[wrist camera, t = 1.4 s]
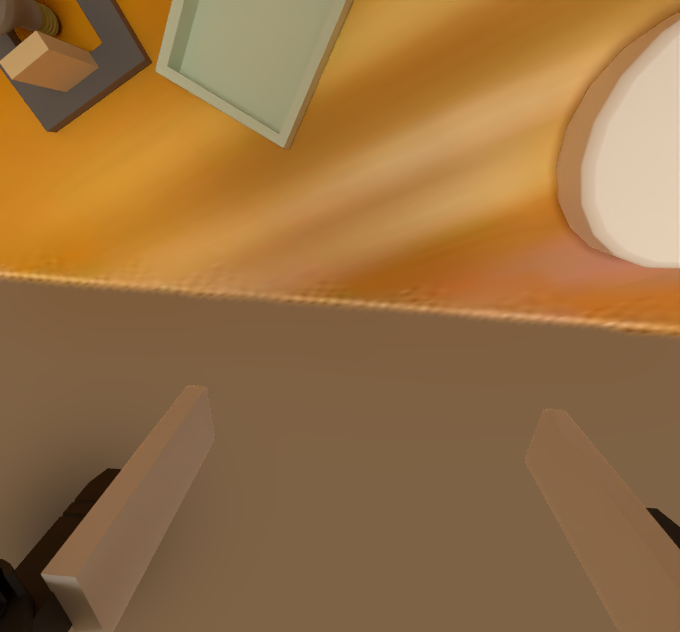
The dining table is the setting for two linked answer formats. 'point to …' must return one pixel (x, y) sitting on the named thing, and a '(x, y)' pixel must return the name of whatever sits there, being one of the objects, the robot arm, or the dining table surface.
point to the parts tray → (252, 57)
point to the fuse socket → (72, 65)
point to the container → (628, 154)
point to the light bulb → (27, 17)
